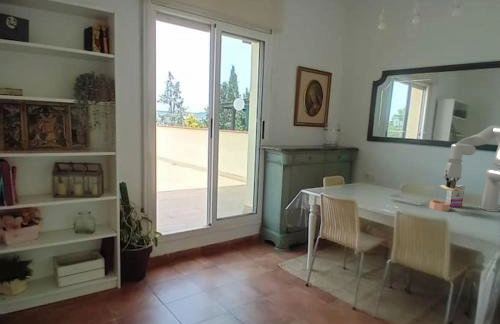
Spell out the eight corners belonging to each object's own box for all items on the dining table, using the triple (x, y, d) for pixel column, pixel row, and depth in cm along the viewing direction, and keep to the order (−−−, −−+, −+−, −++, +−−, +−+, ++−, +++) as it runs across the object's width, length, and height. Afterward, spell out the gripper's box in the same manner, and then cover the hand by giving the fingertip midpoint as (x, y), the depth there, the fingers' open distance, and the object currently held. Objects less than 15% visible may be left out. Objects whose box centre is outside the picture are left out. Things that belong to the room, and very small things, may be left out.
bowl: (441, 206, 240) (442, 200, 239) (452, 211, 228) (453, 204, 228) (426, 206, 239) (427, 199, 239) (436, 211, 228) (437, 204, 227)
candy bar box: (456, 205, 246) (459, 184, 244) (461, 207, 242) (465, 186, 239) (444, 205, 243) (447, 184, 241) (450, 207, 239) (453, 186, 236)
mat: (466, 212, 230) (466, 211, 230) (477, 217, 219) (478, 216, 219) (451, 211, 229) (451, 210, 229) (462, 216, 218) (462, 215, 218)
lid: (452, 186, 235) (453, 178, 235) (467, 191, 222) (468, 183, 221) (434, 186, 234) (436, 177, 233) (448, 190, 220) (449, 182, 219)
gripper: (461, 161, 229) (457, 186, 232) (440, 160, 228) (436, 185, 231) (469, 162, 222) (465, 188, 225) (447, 161, 220) (443, 187, 223)
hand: (450, 186), depth 228 cm, fingers closed on lid, 3 cm apart
